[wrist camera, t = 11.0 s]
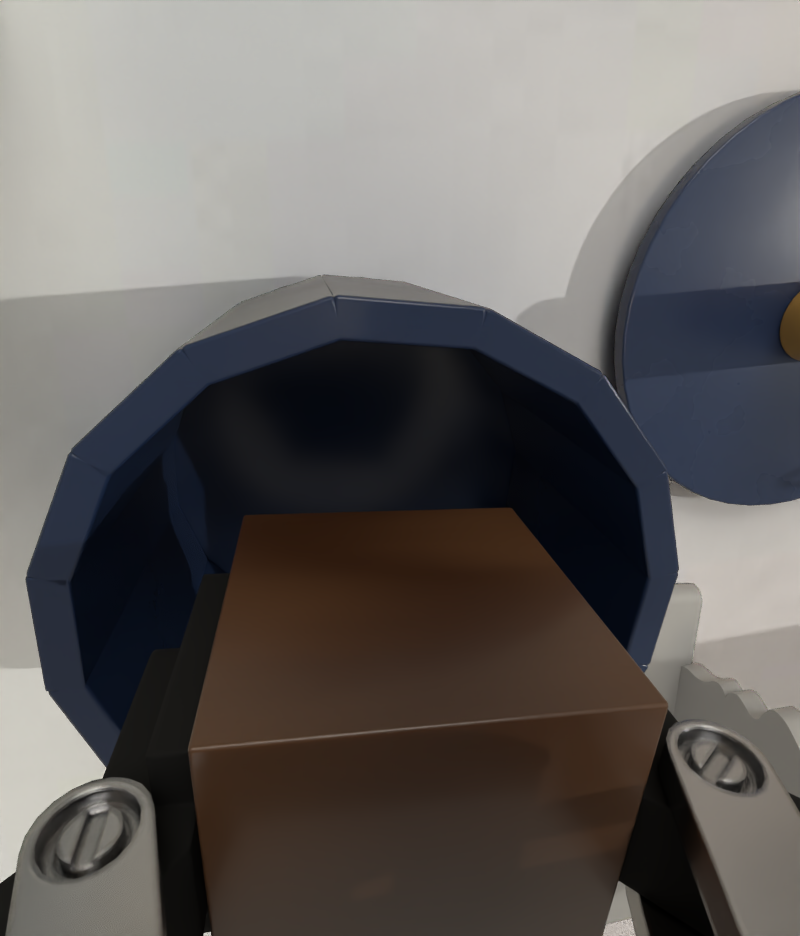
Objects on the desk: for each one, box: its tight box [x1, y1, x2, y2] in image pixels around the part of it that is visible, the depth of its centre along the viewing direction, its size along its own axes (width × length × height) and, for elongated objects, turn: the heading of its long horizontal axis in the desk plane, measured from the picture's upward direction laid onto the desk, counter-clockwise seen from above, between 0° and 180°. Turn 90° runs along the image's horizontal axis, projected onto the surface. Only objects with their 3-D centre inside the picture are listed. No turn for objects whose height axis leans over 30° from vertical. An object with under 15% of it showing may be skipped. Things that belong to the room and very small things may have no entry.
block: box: [188, 508, 668, 936], centre depth 9 cm, size 5×5×5 cm
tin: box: [26, 275, 679, 768], centre depth 15 cm, size 12×12×8 cm
